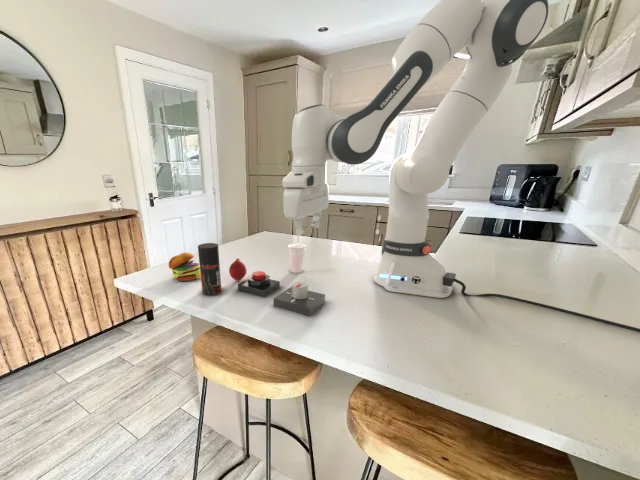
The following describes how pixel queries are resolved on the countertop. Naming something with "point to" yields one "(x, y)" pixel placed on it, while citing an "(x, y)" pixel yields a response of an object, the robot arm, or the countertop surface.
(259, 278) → the button
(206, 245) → the deodorant
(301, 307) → the hob panel
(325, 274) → the countertop surface
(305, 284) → the hob knob
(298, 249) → the smoothie
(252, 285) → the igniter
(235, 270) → the onion
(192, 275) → the cheeseburger
